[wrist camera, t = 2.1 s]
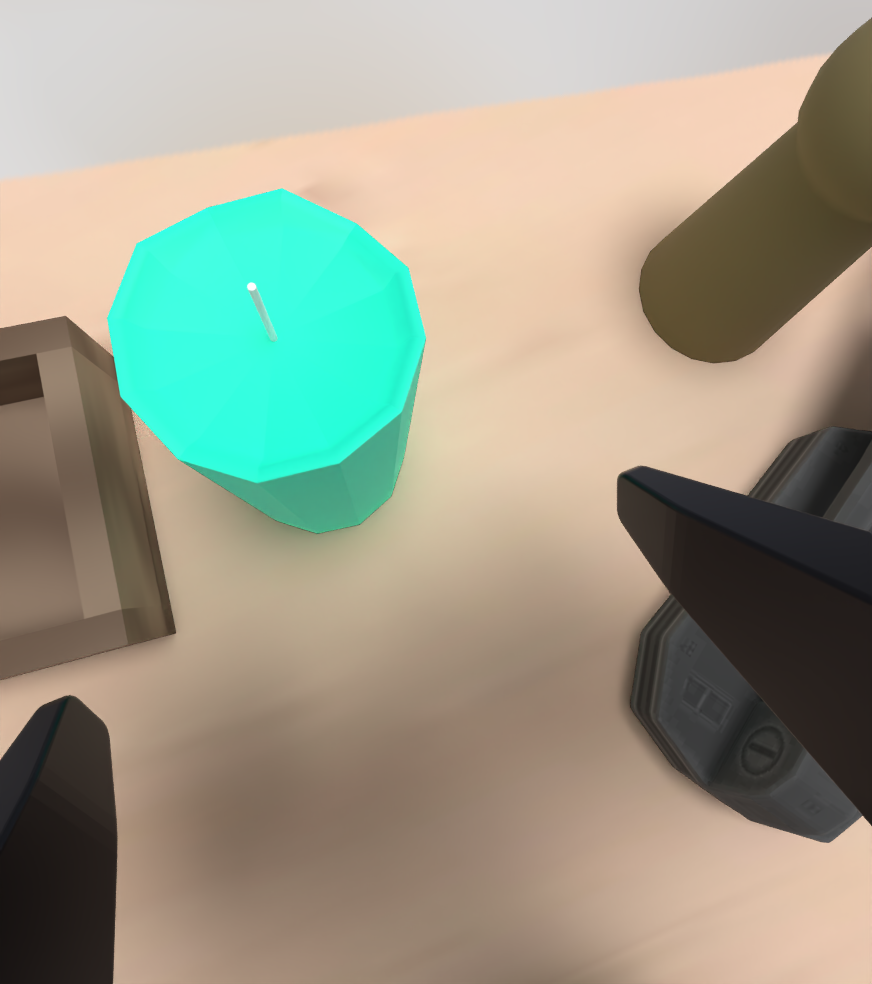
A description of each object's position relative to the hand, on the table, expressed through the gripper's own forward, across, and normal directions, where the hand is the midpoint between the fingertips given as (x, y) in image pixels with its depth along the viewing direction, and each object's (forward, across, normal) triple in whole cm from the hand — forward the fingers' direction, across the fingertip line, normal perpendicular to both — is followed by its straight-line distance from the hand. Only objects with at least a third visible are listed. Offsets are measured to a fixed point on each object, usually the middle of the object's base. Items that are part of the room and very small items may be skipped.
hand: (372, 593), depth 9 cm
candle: (+12, 0, +5) cm, 13 cm away
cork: (+13, -17, +4) cm, 22 cm away
